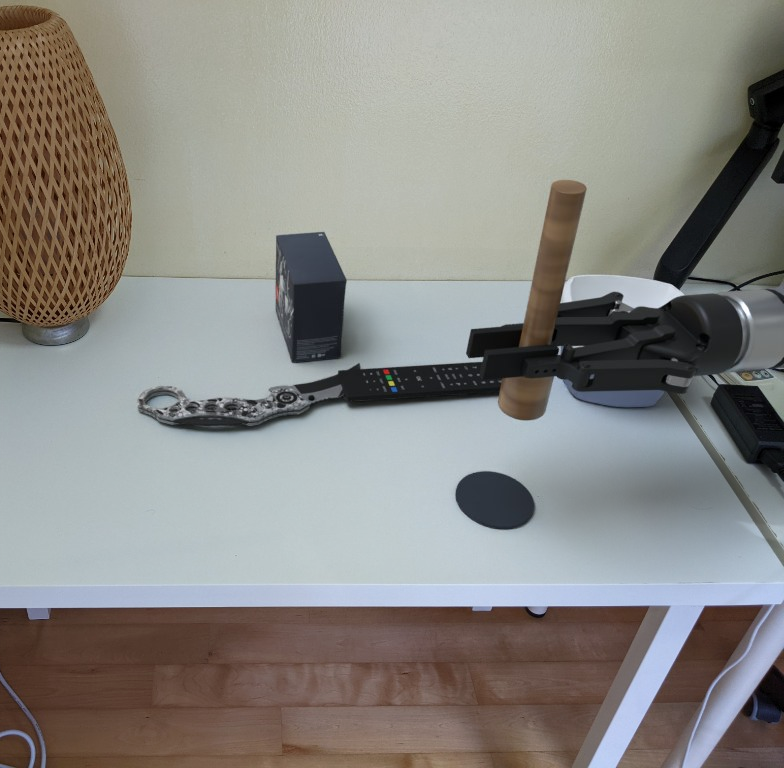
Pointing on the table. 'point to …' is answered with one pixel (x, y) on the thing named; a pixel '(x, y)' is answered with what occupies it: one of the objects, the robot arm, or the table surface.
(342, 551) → the table surface
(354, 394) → the remote control
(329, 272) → the small box
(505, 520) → the coaster
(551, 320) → the muddler
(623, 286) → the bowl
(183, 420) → the knife
